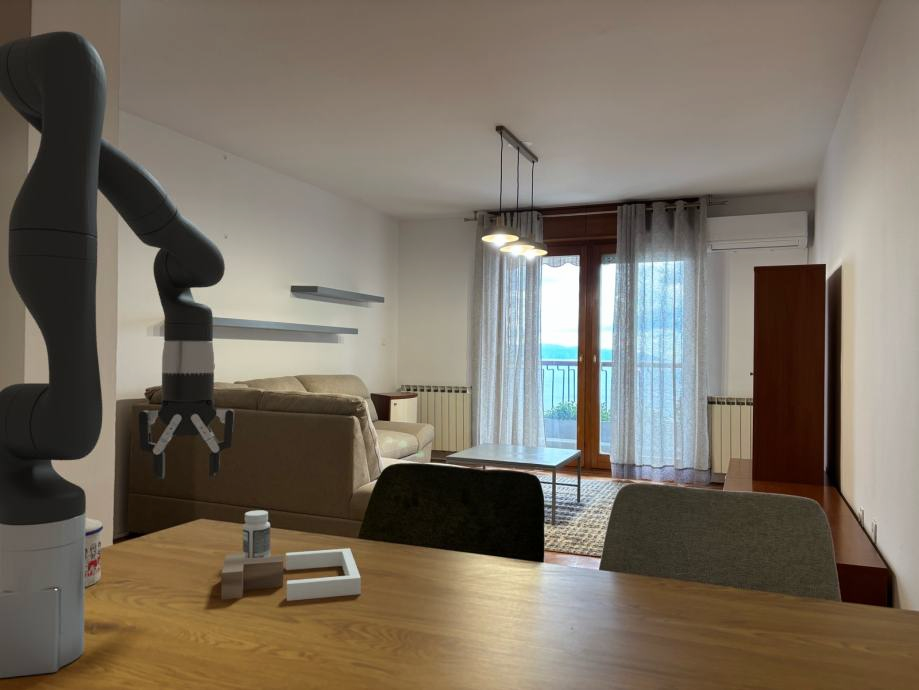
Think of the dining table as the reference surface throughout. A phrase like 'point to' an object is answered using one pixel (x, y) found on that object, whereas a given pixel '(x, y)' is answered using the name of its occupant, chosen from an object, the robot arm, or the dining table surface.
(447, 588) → the dining table surface
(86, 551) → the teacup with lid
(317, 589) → the pocket
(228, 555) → the t block
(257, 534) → the pill bottle
